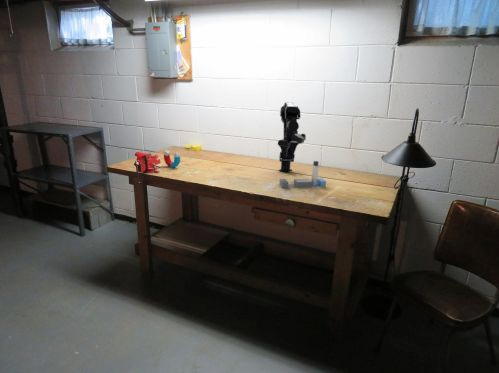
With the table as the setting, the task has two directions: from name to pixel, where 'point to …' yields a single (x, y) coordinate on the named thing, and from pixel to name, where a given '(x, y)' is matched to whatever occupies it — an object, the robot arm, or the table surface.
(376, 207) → the table surface
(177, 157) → the magnet
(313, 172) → the dark-capped white cylinder
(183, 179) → the table surface
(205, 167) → the table surface
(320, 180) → the gray notched block
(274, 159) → the table surface
